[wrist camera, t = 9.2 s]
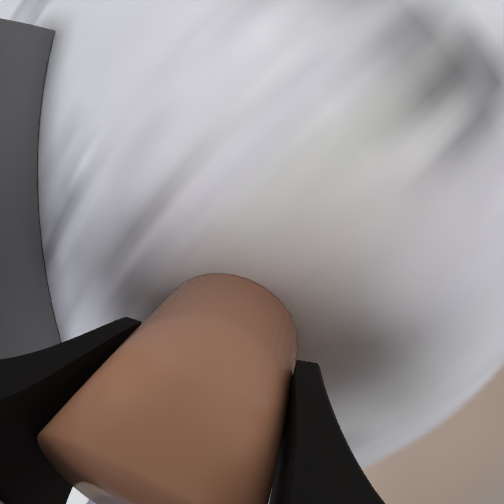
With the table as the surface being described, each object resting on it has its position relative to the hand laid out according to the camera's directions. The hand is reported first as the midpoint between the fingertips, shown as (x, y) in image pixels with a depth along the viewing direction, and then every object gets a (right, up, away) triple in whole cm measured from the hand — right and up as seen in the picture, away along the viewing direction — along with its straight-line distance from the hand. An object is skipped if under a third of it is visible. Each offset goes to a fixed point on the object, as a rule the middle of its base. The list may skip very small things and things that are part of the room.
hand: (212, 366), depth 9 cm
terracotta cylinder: (0, 0, +2) cm, 2 cm away
